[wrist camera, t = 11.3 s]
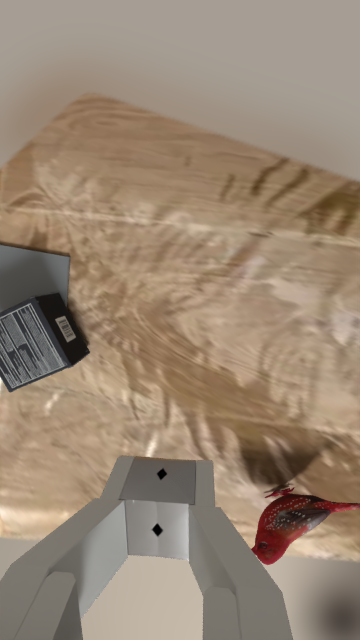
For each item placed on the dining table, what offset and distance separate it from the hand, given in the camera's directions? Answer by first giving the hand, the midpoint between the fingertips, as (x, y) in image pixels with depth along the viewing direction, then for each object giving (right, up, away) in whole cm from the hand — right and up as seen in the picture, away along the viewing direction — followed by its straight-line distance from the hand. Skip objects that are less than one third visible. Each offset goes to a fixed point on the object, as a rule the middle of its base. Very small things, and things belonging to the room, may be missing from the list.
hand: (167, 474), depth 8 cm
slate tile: (-23, +7, +33) cm, 40 cm away
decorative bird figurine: (+19, -23, +36) cm, 46 cm away
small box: (-16, +4, +29) cm, 33 cm away
